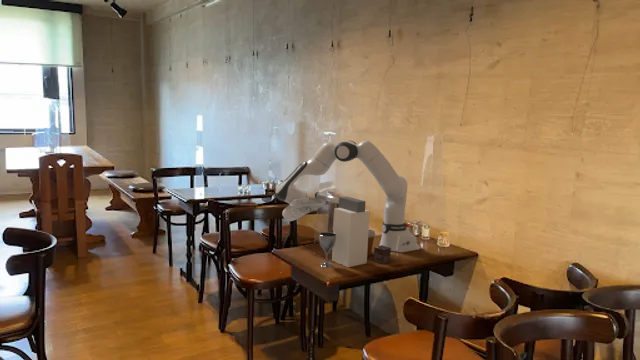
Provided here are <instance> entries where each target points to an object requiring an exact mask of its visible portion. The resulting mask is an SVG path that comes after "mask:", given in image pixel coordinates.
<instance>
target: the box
mask: <svg viewBox="0 0 640 360" xmlns="http://www.w3.org/2000/svg"><path fill="white" fill-rule="evenodd" d="M379 245H380V244H379ZM379 245H378V246H374V248H373V262H375V263H379V264H382V265H385V264H387V263H390V262H391V255H392V254H391V253H392V251H391V248H390V247H386V246H383V245H380V246H379Z"/></svg>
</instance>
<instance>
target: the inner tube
mask: <svg viewBox="0 0 640 360" xmlns="http://www.w3.org/2000/svg"><path fill="white" fill-rule="evenodd" d="M339 197H340V196H335V195H330V194H328V193H322V192H319V191H317V192H315V193H314V198H318V199H322V200H325V201H326V202H330V203H333V204H337V205H339Z"/></svg>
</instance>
